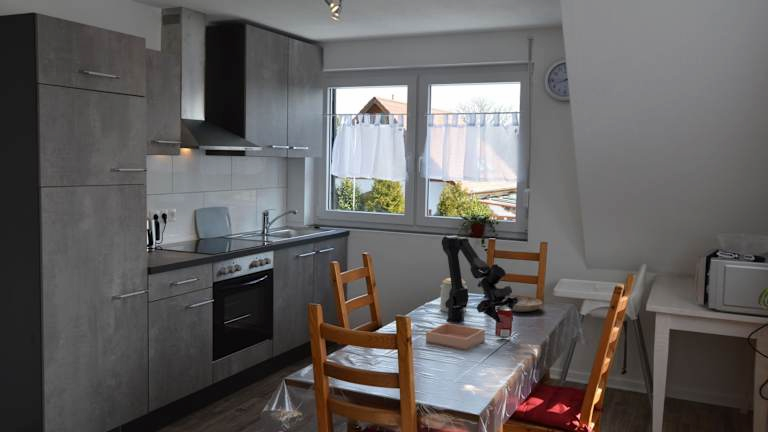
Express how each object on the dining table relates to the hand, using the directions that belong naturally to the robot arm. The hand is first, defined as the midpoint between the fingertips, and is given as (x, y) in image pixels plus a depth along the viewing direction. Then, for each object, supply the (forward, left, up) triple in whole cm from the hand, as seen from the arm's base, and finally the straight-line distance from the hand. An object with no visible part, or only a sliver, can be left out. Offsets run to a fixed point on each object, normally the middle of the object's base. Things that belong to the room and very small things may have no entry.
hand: (506, 321), depth 286 cm
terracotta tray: (-16, -14, -8) cm, 23 cm away
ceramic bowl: (-16, +57, -8) cm, 60 cm away
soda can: (-1, +1, -7) cm, 7 cm away
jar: (-41, +35, -8) cm, 54 cm away
